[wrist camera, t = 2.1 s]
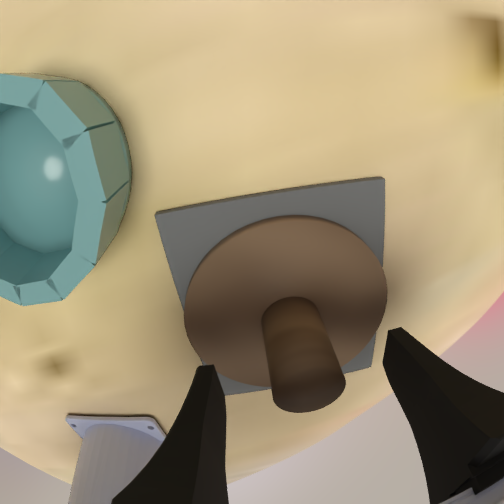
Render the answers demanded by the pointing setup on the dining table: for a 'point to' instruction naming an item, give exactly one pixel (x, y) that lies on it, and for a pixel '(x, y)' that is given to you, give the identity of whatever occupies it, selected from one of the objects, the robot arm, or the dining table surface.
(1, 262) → the bowl
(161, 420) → the dining table surface
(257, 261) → the lid
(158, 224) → the mat
